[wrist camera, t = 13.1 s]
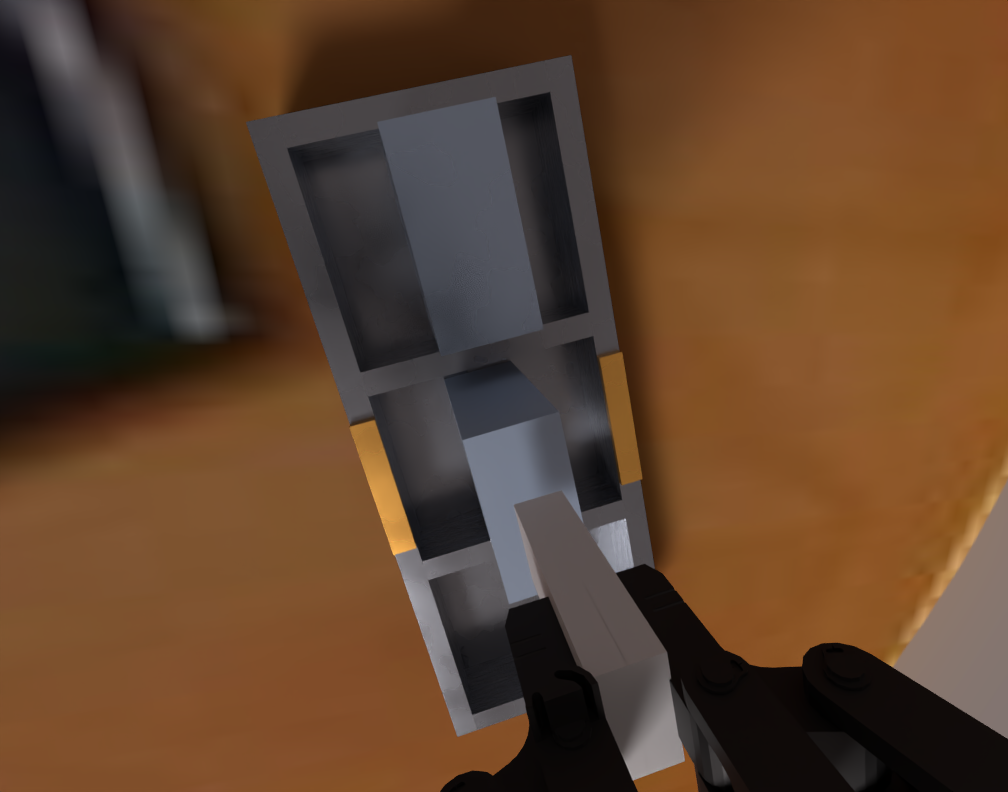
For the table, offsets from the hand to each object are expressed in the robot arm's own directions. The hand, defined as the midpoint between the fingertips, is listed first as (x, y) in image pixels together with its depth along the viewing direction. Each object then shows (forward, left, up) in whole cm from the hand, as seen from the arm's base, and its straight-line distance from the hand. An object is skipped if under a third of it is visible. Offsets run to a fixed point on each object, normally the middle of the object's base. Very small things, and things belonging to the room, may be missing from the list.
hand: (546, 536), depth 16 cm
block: (0, 0, -10) cm, 10 cm away
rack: (0, 0, -11) cm, 11 cm away
